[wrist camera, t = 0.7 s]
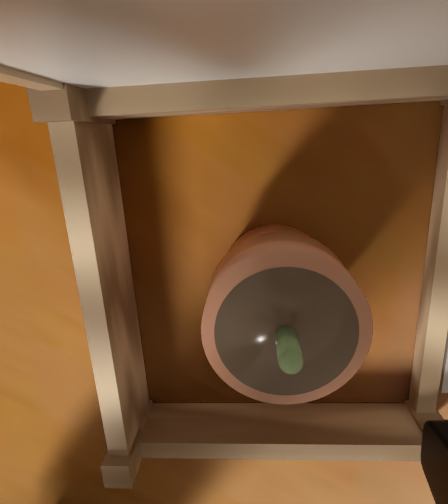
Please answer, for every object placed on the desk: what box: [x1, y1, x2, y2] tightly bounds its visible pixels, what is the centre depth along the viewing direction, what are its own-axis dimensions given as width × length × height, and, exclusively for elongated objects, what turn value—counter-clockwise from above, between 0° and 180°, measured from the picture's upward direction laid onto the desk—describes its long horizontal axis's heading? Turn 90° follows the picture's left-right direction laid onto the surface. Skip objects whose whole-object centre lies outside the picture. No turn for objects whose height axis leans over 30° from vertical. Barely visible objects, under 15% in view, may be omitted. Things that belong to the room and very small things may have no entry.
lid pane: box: [0, 0, 448, 91], centre depth 8 cm, size 1×16×11 cm, turn 93°
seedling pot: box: [201, 224, 373, 405], centre depth 15 cm, size 6×6×8 cm
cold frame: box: [27, 65, 448, 489], centre depth 17 cm, size 18×17×5 cm
